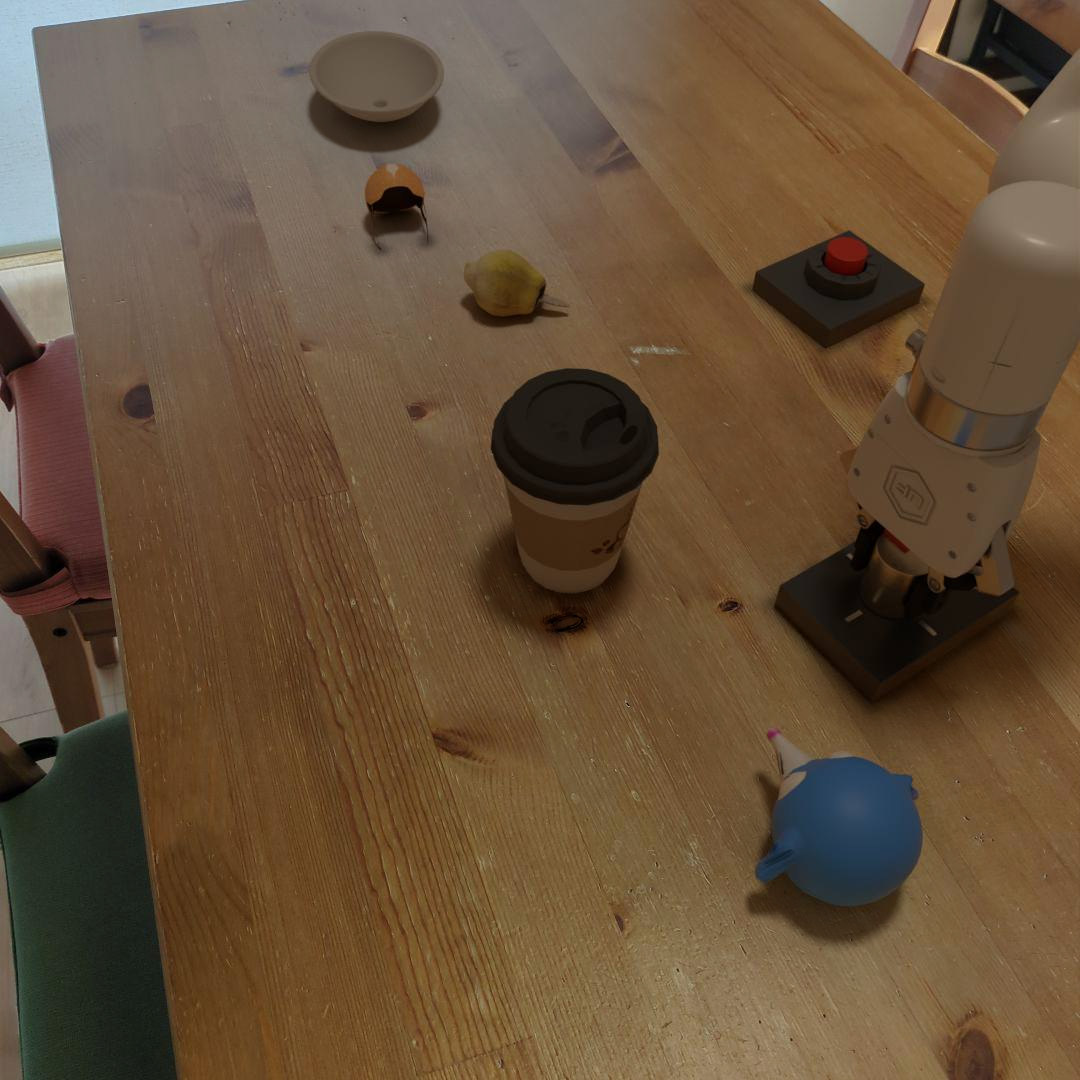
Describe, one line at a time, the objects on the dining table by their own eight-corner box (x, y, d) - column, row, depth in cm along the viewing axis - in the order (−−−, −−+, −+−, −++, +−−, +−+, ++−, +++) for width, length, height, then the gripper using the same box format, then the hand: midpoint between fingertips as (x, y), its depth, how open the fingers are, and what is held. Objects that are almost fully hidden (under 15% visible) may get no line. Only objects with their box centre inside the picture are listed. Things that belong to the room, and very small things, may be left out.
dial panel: (908, 525, 87) (918, 503, 85) (1008, 612, 82) (1021, 590, 80) (773, 605, 82) (780, 583, 80) (870, 703, 76) (880, 682, 74)
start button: (844, 248, 104) (848, 232, 102) (871, 268, 102) (876, 252, 100) (815, 261, 102) (819, 245, 101) (843, 281, 100) (847, 265, 99)
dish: (302, 83, 128) (296, 40, 125) (423, 65, 131) (420, 23, 128) (333, 164, 118) (326, 120, 114) (464, 142, 121) (462, 99, 117)
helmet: (431, 254, 113) (417, 178, 113) (435, 232, 106) (420, 151, 106) (374, 262, 112) (360, 185, 112) (375, 240, 105) (359, 158, 105)
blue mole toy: (830, 724, 75) (860, 655, 69) (949, 873, 69) (994, 812, 62) (682, 800, 72) (698, 735, 65) (792, 965, 65) (823, 911, 59)
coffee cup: (601, 642, 79) (615, 503, 68) (465, 579, 83) (456, 437, 71) (668, 535, 86) (691, 392, 74) (539, 481, 89) (542, 336, 78)
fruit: (564, 337, 101) (455, 316, 100) (566, 312, 106) (462, 291, 105) (576, 277, 97) (464, 254, 97) (578, 253, 102) (471, 232, 102)
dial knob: (934, 601, 79) (957, 555, 75) (889, 629, 77) (910, 583, 73) (890, 560, 81) (910, 513, 77) (845, 586, 80) (863, 539, 76)
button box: (844, 248, 110) (853, 213, 106) (918, 302, 104) (931, 267, 101) (751, 290, 105) (758, 255, 102) (824, 349, 100) (834, 313, 97)
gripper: (827, 337, 67) (774, 530, 81) (1049, 513, 59) (946, 696, 73) (914, 294, 70) (848, 489, 84) (1139, 456, 61) (1023, 643, 75)
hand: (894, 583), depth 78 cm, fingers closed on dial knob, 4 cm apart
